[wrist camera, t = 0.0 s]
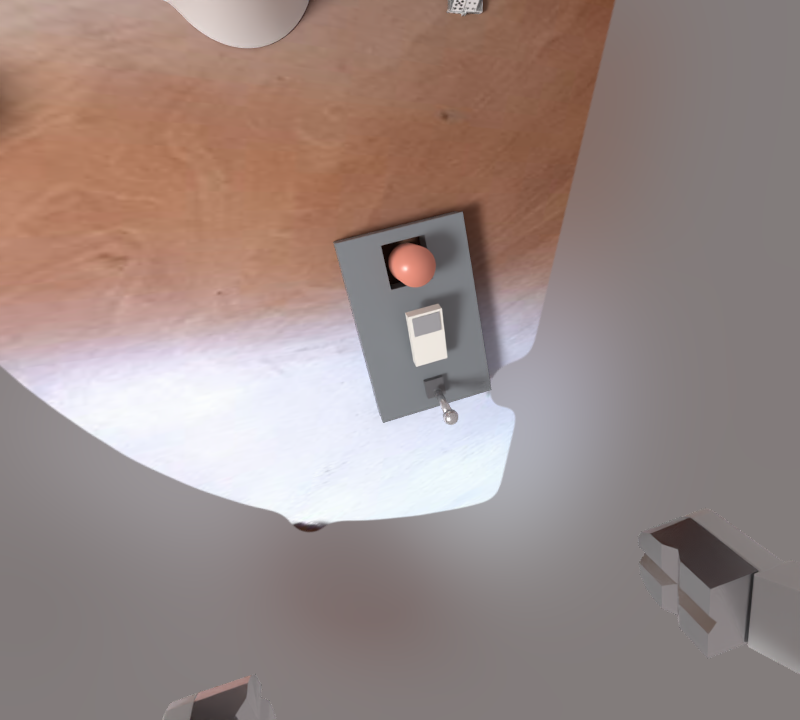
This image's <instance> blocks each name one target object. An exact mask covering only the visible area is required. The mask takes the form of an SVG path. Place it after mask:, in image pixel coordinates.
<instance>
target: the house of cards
mask: <svg viewBox="0 0 800 720" xmlns="http://www.w3.org/2000/svg"><path fill="white" fill-rule="evenodd" d="M482 6H483V0H448V11H447V12H446V13H457V14H462V16H463V14H464V16H465V15H466V13H472V14H480V13H481V12H482Z"/></svg>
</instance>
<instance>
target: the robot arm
mask: <svg viewBox="0 0 800 720" xmlns="http://www.w3.org/2000/svg"><path fill="white" fill-rule="evenodd" d="M164 1H166V2H168V3H169V4H170V5H172V6H173V7H174V8H175V9H176V10H177V11H178V12H179V13H180V14H181V15H182V16H183V17H184V18H185V19H186V20H187V21H188V22H189V23H190V24H192V25H193V26H194V27H195V28H196V29H198V30H199V31H200V32H202V33H203V34H205V35H206V36H208V37H210V38H212V39H214V40H216V41H218V42H220V43H223V44H226V45H229V46H233V47H239V48H257V47H263V46H266V45H269V44H272V43H274V42H276V41H278V40H280V39H281V38H283V37H284V36H286V35H287V34H288V33H289V32H290V31H291V30H292V29H293V28H294V27H295V26H296V25H297V23H298V22H299V21H300V19H301V17H302V16H303V14H304V12H305V10H306V8H307V5H308V2H309V0H164ZM638 541H639V542H638V544H639V547H640V548H641V549H642V550H643V551H644V552H645V553H644V555H643V556H642V558H641V560H640V561H639V567H640V575H641V578H642V580H643V583H644V585H645V587H646V589H647V590H648V592H649V593H650V595H651V596H652V598H653V599H654V600H655V601H656V602H657V604H658V605H659V606H660V607H661V608H662V609H664V610H666V611H668V612H671V613H673V614H675V615H677V616H678V622H679V628H680V629H681V630H682V631H683V632H684V633H685V635H686V636H687V637H688V638H689V639H690V640H691V641H692V642H693V643H694V644H695V645H696V647H697V648H698V649H699V650H700V651H701V652H702V653H703V654H704V655H705V656H706V657H707V658H710V657H713V656H715V655H718V654H721V653H723V652H726V651H729V650H731V649H734V648H737V647H740V646H742V645H745V644H748V647H750V648H752V649H753V650H755V651H757V652H759V653H761V654H763V655H765V656H767V657H768V658H770V659H772V660H774V661H776V662H778V663H780V664H781V665H783V666H785V667H787V668H789V669H791V670H793V671H795V672H796V673H798V674H800V562H796V561H793V560H789V561H786V562H783V561H782V560H781V559H779V558H778V557H776V556H775V555H774V554H772V553H771V552H769V551H768V550H767V549H765V548H764V547H763V546H761V545H760V544H758V543H757V542H756V541H754V540H753V539H752V538H750V537H749V536H747V535H746V534H745V533H743V532H742V531H740V530H739V529H738V528H736V527H735V526H734V525H732V524H731V523H729V522H728V521H727V520H725V519H724V518H722V517H721V516H720V515H718V514H717V513H715V512H714V511H712V510H709V509H706V508H705V509H702V510H699V511H696V512H693V513H691V514H688V515H685V516H683V517H678V518H676V519H673V520H670V521H668V522H665V523H662V524H660V525H658V526H655V527H652V528H649V529H647V530H644V531H642V532H641V533H640V535H639V537H638ZM261 689H262V685H261V683H260V681H259V680H258V678H257V676H256V674H254V675H250V676H247V677H244V678H241V679H238V680H235V681H232V682H229V683H226V684H223V685H220V686H217V687H214V688H211V689H208V690H205V691H202V692H199V693H197V694H194V695H191V696H188V697H185V698H182V699H179V700H177V701H174V702H171V703H170V705H169V707H168V708H167V710H166V712H165V714H164V717H163V720H277V719H276V716H275V712H274V709H273V707H272V705H271V703H270V701H269V700H267V699H265V698H262V697H261Z"/></svg>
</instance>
